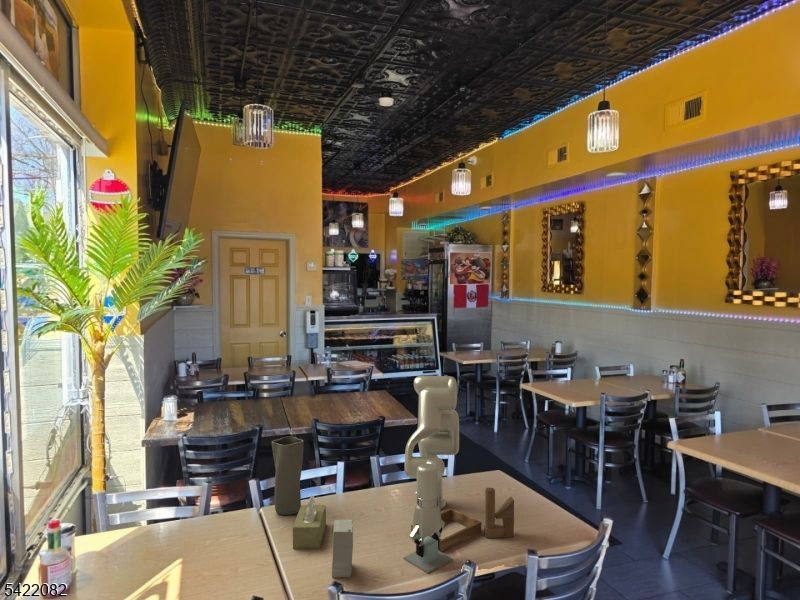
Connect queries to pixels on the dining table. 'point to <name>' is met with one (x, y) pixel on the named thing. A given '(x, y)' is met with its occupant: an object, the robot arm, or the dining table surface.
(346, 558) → the skincare box
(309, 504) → the tissue box
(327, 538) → the dining table surface
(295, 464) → the vase
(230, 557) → the dining table surface
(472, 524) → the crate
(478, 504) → the dining table surface
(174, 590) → the dining table surface
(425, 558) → the block
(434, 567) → the mat
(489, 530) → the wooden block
